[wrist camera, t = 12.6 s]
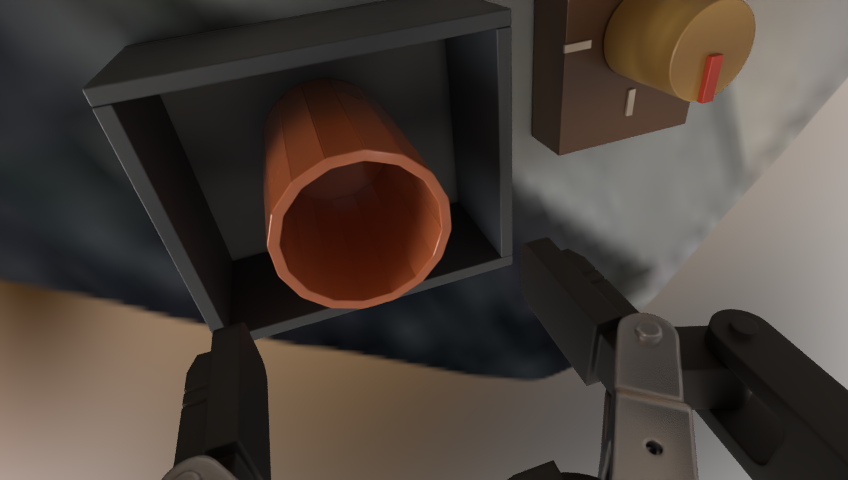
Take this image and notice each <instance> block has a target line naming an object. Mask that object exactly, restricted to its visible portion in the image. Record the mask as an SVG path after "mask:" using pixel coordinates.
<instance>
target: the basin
mask: <svg viewBox="0 0 848 480" xmlns="http://www.w3.org/2000/svg"><path fill="white" fill-rule="evenodd" d="M510 25H511V9H510V8H507V7H504V6H500V5H497V4H494V3H491V2H487V1H484V0H386V1H380V2H375V3H369V4H363V5H357V6H352V7H346V8H340V9H335V10H329V11H323V12H317V13H312V14H306V15H300V16H295V17H289V18H283V19H277V20H272V21H266V22H260V23H254V24H249V25H243V26H237V27H232V28H226V29H220V30H214V31H209V32H203V33H197V34H191V35H186V36H180V37H174V38H169V39H163V40H157V41H151V42H146V43H140V44H134V45H128V46H125V47H124V48H123V50H122V51H121V52H119V53H118V54H117V55H116V56H115V57H114V58H113V59H112V60H111V61H110V62H109V63H108V64H107V65H106V66H105V67H104V68H103V69H102V70H101V71H100V72H99V73H98V74H97V75H96V76H95V77H94V78H93V79H92V80H91V81H90V82H89V83H88V84H87V85H86V86H85V87H84V88H83V89H82V91H83V93H84V95H85V96H86V98H87V100H88V102H89V104H90V106H91V107H93V108H92V110H93V112H94V114H95V116H96V117H97V119H98V121H99V123H100V125H101V127H102V129H103V131H104V132H105V134H106V136H107V138H108V140H109V142H110V144H111V146H112V147H113V149H114V151H115V153H116V155H117V157H118V159H119V161H120V162H121V164H122V166H123V168H124V170H125V172H126V174H127V175H128V177H129V179H130V181H131V183H132V185H133V187H134V189H135V190H136V192H137V194H138V196H139V198H140V200H141V202H142V204H143V205H144V207H145V209H146V211H147V213H148V215H149V217H150V219H151V220H152V222H153V224H154V226H155V228H156V230H157V232H158V234H159V235H160V237H161V239H162V241H163V243H164V245H165V247H166V249H167V250H168V252H169V254H170V256H171V258H172V260H173V262H174V263H175V265H176V267H177V269H178V271H179V273H180V275H181V277H182V278H183V280H184V282H185V284H186V286H187V288H188V290H189V292H190V293H191V295H192V297H193V299H194V301H195V303H196V305H197V307H198V308H199V310H200V312H201V314H202V316H203V318H204V320H205V322H206V323H207V325H208V327H209V329H210V331H211V333H212V335H213V331H214V330H216V329H219V328H223V327H226V326H230V325H233V324H237V323H241V322H244V323H245V324H246V326H247V328H248V330H249V332H250V334H251V337H252V339H253V340H257V339H260V338H263V337H267V336H270V335H273V334H277V333H280V332H284V331H287V330H290V329H294V328H297V327H301V326H304V325H307V324H311V323H314V322H317V321H321V320H324V319H328V318H331V317H334V316H338V315H341V314H345V313H348V312H351V311H355V310H358V309H356V308H329V307H327V306H324V305H321V304H318V303H316V302H313V301H310V300H307V299H305V298H302V297H300V296H299V295H298V294H297V293H296V292H295V291H294V290H293V289H292V288H291V287H290V286H288V285H287V284H286V283H285V282H284V281H283V280H282V279H281V278H280V277H279V276H278V275H277V272H276V269H275V267H274V264H273V261H272V259H271V256H270V253H269V251H268V248H267V239H266V222H265V206H264V190H263V174H262V157H261V146H262V132H263V126H264V123H265V120H266V117H267V115H268V113H269V111H270V109H271V108H272V107H273V105H274V104H275V102H276V101H277V100H278V99H279V98H280V97H281V96H282V95H283V94H285V93H286V92H287V91H288V90H290V89H292V88H293V87H295V86H297V85H299V84H302V83H304V82H307V81H311V80H316V79H339V80H343V81H347V82H350V83H353V84H355V85H357V86H359V87H361V88H363V89H364V90H366V91H367V92H368V93H370V94H371V95H372V96H373V97H374V98H375V99H377V100H378V101H379V102H380V104H381V105H382V106H383V108H384V109H385V110H386V112H387V113H388V114H389V116H390V117H391V118H392V120H393V121H394V122H395V124H396V125H397V126H398V127H399V129H400V130H401V131H402V133H403V134H404V135H405V137H406V138H407V139H408V141H409V142H410V143H411V145H412V146H413V147H414V149H415V150H416V151H417V153H418V154H419V155H420V157H421V158H422V159H423V161H424V162H425V163H426V164H427V166H428V167H429V168H430V170H431V171H432V172H433V174H434V175H435V177H436V179H437V180H438V182H439V183H440V185H441V187H442V188H443V190H444V192H445V193H446V195H447V196H448V199H449V205H450V216H451V226H452V228H451V232H450V235H449V238H448V241H447V244H446V247H445V250H444V253H443V256H442V258H441V259H440V261H439V262H438V263H437V264H436V265H435V267H434V268H433V269H432V270H431V272H430V273H429V274H428V275H427V277H426V278H425V279H424V280H423V281H422V282H421V283H420V284H418V285H417V286H415V287H413V288H412V289H410V290H409V291H407V292H406V293H404V294H403V295H401V296H400V297H402V296H405V295H409V294H412V293H416V292H419V291H422V290H426V289H429V288H433V287H436V286H439V285H443V284H446V283H449V282H453V281H456V280H460V279H463V278H466V277H470V276H473V275H477V274H480V273H483V272H487V271H490V270H493V269H497V268H500V267H504V266H507V265H510V264H512V67H511V26H510ZM398 298H399V297H398Z"/></svg>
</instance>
